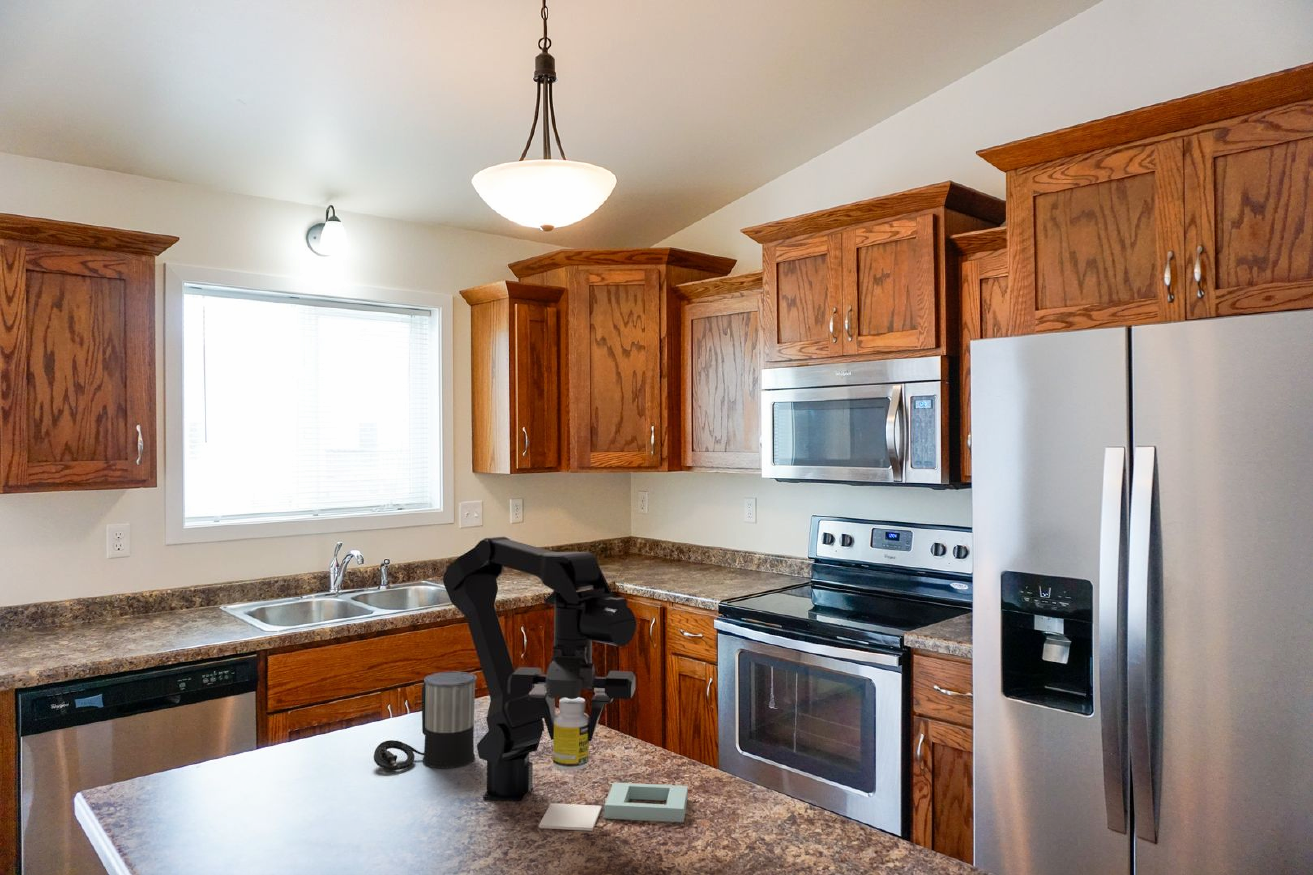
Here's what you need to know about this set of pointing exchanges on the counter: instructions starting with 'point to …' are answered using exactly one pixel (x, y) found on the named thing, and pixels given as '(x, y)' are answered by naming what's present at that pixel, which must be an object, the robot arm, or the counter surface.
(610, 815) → the holder block
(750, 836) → the counter surface
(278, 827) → the counter surface
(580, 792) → the counter surface
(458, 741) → the milk frother
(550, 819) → the white square tile
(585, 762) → the supplement bottle
